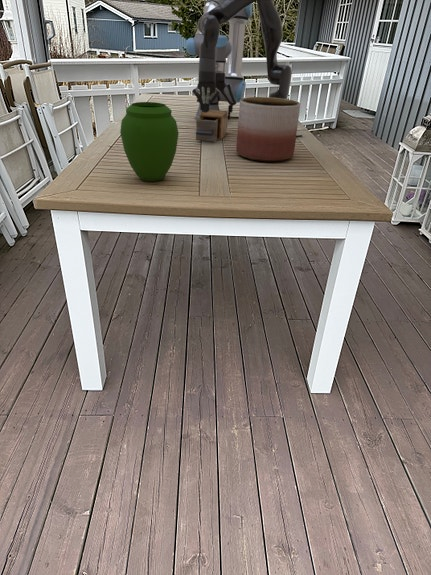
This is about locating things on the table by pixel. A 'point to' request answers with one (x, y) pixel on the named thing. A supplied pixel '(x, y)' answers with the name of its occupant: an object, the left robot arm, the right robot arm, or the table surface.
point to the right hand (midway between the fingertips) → (206, 112)
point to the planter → (267, 128)
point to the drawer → (207, 129)
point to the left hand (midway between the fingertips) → (215, 118)
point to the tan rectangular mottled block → (223, 120)
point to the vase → (149, 139)
